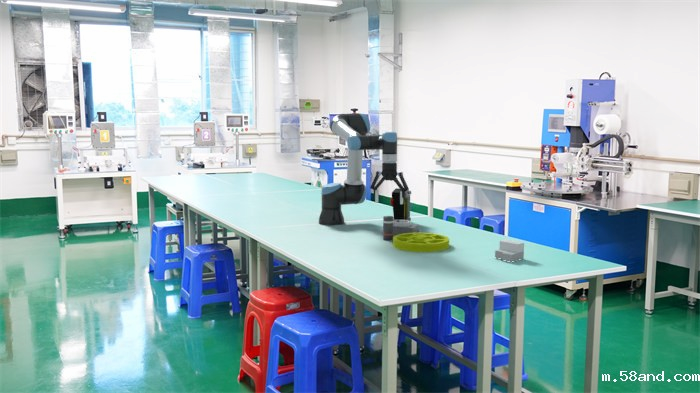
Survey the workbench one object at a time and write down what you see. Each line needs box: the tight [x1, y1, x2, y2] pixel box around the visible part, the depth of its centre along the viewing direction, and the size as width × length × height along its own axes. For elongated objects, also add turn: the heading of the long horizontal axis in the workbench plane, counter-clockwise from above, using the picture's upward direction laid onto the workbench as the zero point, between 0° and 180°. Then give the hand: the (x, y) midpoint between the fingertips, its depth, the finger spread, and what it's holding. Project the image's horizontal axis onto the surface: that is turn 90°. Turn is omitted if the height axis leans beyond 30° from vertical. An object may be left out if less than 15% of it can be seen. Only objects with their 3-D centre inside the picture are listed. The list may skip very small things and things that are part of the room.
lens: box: [382, 215, 394, 242], centre depth 327 cm, size 5×5×12 cm
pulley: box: [392, 232, 450, 253], centre depth 313 cm, size 28×28×5 cm
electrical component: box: [390, 187, 412, 222], centre depth 368 cm, size 18×10×20 cm, turn 168°
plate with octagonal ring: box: [393, 218, 420, 237], centre depth 341 cm, size 16×11×7 cm
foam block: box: [494, 238, 525, 262], centre depth 286 cm, size 10×10×8 cm
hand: (389, 203), depth 325 cm, fingers open, 13 cm apart
